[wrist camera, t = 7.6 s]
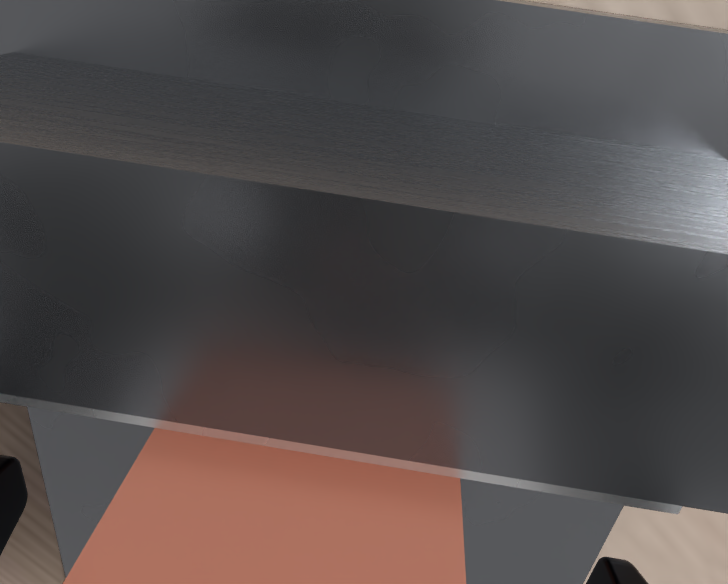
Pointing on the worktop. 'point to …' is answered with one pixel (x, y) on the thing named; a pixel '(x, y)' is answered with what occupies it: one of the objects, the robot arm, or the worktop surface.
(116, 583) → the brick-red block
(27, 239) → the vise base
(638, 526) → the worktop surface
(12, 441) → the worktop surface
